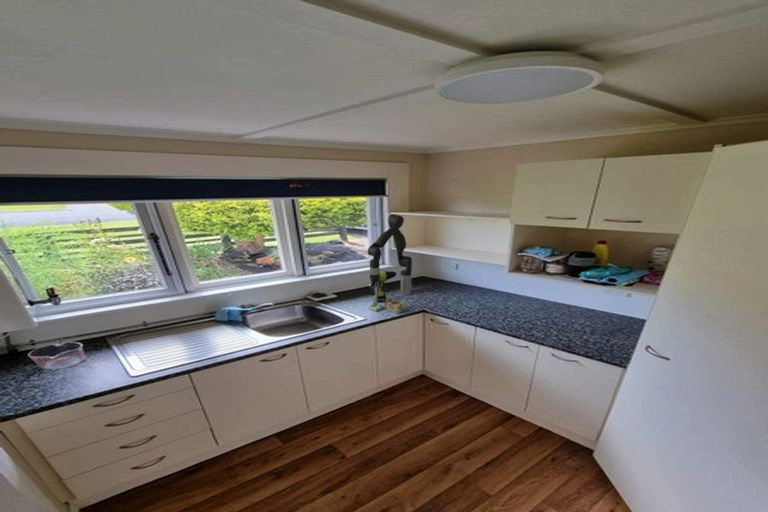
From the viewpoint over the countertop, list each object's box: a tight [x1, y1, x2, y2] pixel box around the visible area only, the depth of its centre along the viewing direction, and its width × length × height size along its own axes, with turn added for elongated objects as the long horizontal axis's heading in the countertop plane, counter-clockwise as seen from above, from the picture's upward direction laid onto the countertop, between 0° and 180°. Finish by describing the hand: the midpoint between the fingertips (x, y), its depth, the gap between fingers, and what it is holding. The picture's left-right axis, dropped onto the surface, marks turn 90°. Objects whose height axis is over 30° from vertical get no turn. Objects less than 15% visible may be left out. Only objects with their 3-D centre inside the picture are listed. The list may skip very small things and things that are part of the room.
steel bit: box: [372, 286, 379, 307], centre depth 235 cm, size 3×3×16 cm
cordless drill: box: [369, 270, 399, 304], centre depth 252 cm, size 23×7×25 cm, turn 99°
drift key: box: [384, 297, 392, 309], centre depth 238 cm, size 3×3×7 cm
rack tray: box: [367, 303, 384, 312], centre depth 237 cm, size 8×8×2 cm
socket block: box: [385, 299, 406, 315], centre depth 234 cm, size 10×10×6 cm
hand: (375, 294), depth 235 cm, fingers closed on steel bit, 3 cm apart
